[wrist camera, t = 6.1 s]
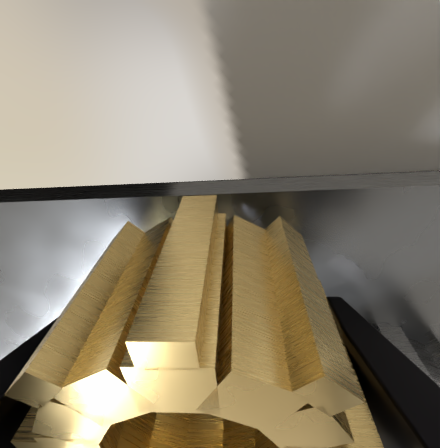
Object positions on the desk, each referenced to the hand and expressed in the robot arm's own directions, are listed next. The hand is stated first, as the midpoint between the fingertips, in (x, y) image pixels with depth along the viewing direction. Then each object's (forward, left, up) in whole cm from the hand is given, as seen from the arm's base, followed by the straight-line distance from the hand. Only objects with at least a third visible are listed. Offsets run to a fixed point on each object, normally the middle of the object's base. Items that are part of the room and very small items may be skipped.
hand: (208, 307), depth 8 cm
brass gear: (0, 0, -1) cm, 1 cm away
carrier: (-7, +1, -4) cm, 8 cm away
